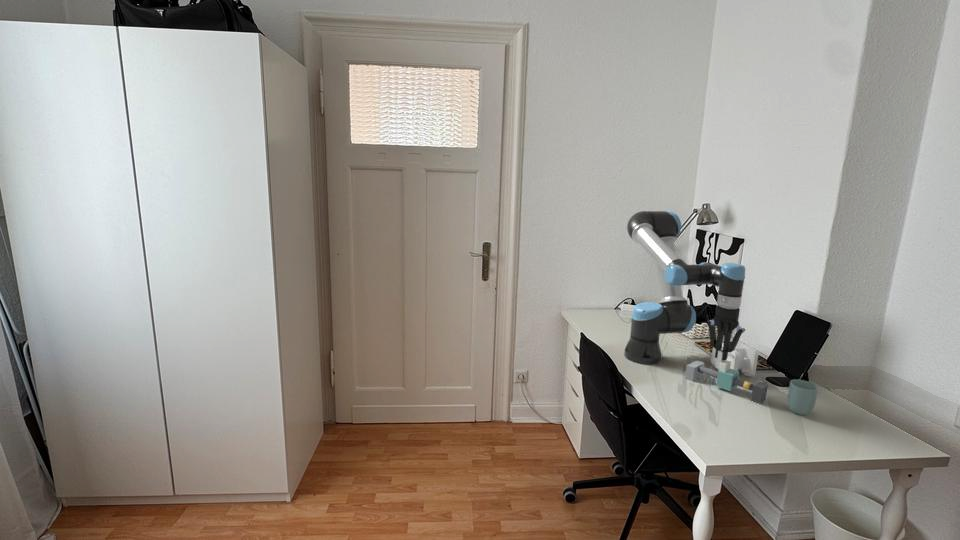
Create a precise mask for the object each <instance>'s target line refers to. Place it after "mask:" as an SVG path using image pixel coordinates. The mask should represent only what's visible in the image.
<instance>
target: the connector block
mask: <svg viewBox="0 0 960 540" xmlns="http://www.w3.org/2000/svg"><path fill="white" fill-rule="evenodd" d="M753 384H754V385H753V389H752V391H751V396H750V401H751V402H752V401H753V402H752V403H755V402H756V403H755V404H758V403H759V405H760V404H762V403H764V402H765V401H766V400H767V394H768V388H769V384H768V383H765V382H763V381H759V380H758V381H757V382H756V383H753Z"/></svg>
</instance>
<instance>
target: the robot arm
mask: <svg viewBox="0 0 960 540" xmlns="http://www.w3.org/2000/svg"><path fill="white" fill-rule="evenodd" d="M626 226H627V227H626V229H627V230H626V231H627V233H628V236H629V237H630V238H631V240H632V241H633V242H635V243H638V244H640V245H641V246H642V247H641V248H643V249H644V250H645V252H647V254H649V256H650V257H651V258H652V259H653V260H654V261H655V263H656V271H657V272H656V273H657V278H658V285H659V291H660V300H659V302H649V301H645V302H640V303H637V304H636V305H634V306H633V308H632V314H631V322H630V323H631V326H630V333H629V334H630V336H629V340H628V341H627V343H626V346H625V347H624V352H623V355H624V357H625V358H626V359H628V360H629V361H632V362H634V363H639V364H645V365H656V364H659V363H660V362H661V361H662V356H663V354H662V350H661V346H660V336H661V335H663V334H682V333H688V332H690V331H691V330H692V329H694V326H695V324H696V321H697V313H696V310H695V309H694V307H693V306H692V305H690V304H688V303H689V302H688V299H686V298H685V297H684V295H683V291H682V290H683V289H682V286H691V285H692V286H693V285H698V286H699V285H701V286H702V285H712V286H715V287H717V288H718V292H717V293H718V294H717V299H716V304H717V305H716V307H715V312H714V313H715V314H714V317H713V319H710V320H707V321H706V325H707V326H708V333H709V334H708V335H709V341H710V347H711V348H713V347H714V348H715V349H716V352H715V358H717V364H716V368H715V369H717V368H720V363H721V362H723V361H725V360H727V357H728V352H732V351H734V350H735V347H736V345H737V343H738V341H739V340H740V338H741V336H742V334H743V333H745V331H746V329H745V328H744V327H741V326H740V322H739V317H740V310H741V308H740V307H741V303H742V295H743V290H744V284H745V279H746V267H745V265H743V264H740V263H734V262H725V263H722V265H718V264H715V263H713V262H705V261H704V262H700V263H699V264H688V263H686V262H685V261H684V260H683V259H682V258H681V257H680V256H679V255H678V254H677V253H676V247H675V244H676V243H675V242H676V241H677V240H678V236H679V235H680V233H681V229H682V222H681V218H680V216H678V214H676V212H673V211H667V210H662V211H661V210H660V211H658V210H656V211H655V210H654V211H652V210H649V211H647V210H646V211H645V210H641V211H638V212H636V213H634V214H633V215H632V216H631V217H630V218H629V219H628V222H627V225H626ZM716 328H717V329H716ZM716 330H717V332H716ZM734 330H735V332H736V333H734V336H733V338H731V337H732V334H733V331H734ZM722 343H724V344H723V347H722ZM729 346H730V347H729ZM722 348H723V350H722Z"/></svg>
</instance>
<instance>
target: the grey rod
mask: <svg viewBox="0 0 960 540" xmlns="http://www.w3.org/2000/svg"><path fill="white" fill-rule="evenodd" d="M697 371H698V372H700V373H703V374H704V375H706V376H709V377H712V378H714V379H717V375H718V370H717V371H716V370H714V369H710V368H707V367H705V366H704V367H702V366H699V367H698V370H697ZM733 384H734V385H737V387H739V388H740V387H741V388H743V389H744V390H747V391H751V392H752V389H753V385H754V384H755V383H751V382H749V381H746V380H742V379H741V378H740V379H739V378H738V379H737V378H733Z"/></svg>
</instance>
